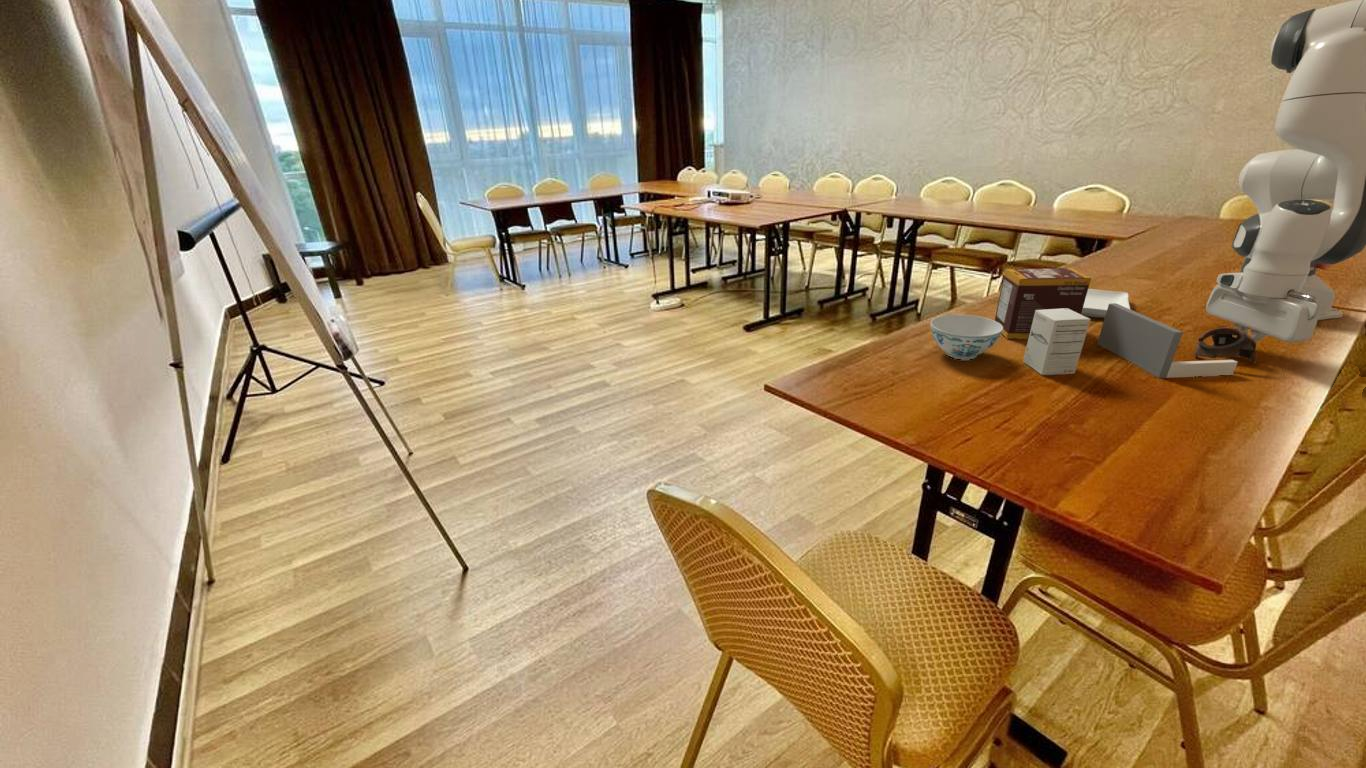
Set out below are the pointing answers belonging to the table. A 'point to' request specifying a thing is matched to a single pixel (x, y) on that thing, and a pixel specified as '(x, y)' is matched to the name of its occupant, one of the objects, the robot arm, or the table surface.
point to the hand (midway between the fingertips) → (1243, 346)
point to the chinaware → (965, 335)
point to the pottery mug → (1226, 344)
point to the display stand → (1153, 345)
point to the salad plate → (1102, 302)
